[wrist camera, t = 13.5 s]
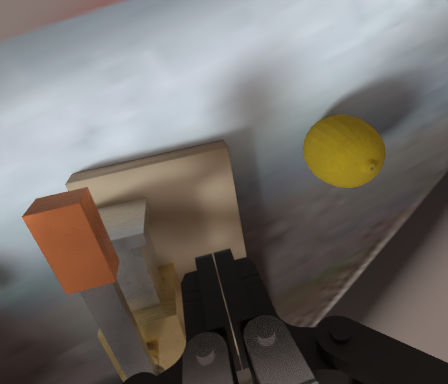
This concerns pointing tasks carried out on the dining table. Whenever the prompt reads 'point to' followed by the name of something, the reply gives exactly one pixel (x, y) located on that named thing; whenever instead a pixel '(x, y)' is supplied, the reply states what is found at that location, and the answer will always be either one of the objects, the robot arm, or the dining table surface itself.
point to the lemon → (344, 151)
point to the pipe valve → (145, 284)
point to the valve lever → (89, 270)
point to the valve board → (177, 202)
